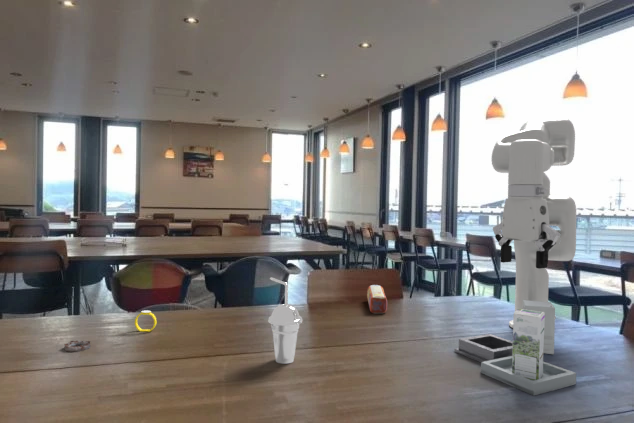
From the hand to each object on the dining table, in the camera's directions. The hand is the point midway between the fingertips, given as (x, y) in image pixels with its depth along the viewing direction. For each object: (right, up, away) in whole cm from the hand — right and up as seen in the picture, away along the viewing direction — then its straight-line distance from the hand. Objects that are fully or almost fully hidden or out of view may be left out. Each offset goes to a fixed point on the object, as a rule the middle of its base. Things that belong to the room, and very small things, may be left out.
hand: (523, 264), depth 110 cm
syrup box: (-1, -25, -5) cm, 25 cm away
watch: (-100, -23, +27) cm, 106 cm away
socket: (-4, -25, +10) cm, 27 cm away
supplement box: (+11, -25, +16) cm, 32 cm away
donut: (-112, -24, +10) cm, 115 cm away
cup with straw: (-57, -24, +4) cm, 62 cm away
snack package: (-26, -24, +63) cm, 73 cm away
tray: (-1, -25, -5) cm, 26 cm away
